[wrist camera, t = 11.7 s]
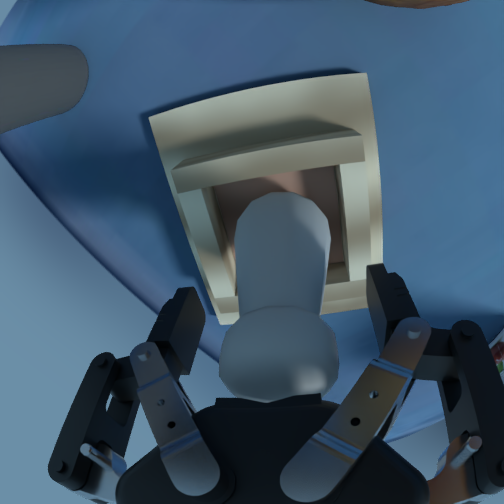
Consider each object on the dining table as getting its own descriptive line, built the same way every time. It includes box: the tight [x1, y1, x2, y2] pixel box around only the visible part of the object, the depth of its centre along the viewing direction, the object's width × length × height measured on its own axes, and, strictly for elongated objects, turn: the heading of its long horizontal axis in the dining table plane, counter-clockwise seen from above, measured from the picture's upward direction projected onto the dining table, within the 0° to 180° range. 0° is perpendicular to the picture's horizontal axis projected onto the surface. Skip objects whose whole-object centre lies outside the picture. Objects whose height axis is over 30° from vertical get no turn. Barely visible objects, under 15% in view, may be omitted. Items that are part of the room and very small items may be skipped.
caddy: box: [149, 73, 383, 325], centre depth 20 cm, size 18×14×4 cm
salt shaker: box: [219, 192, 339, 403], centre depth 15 cm, size 6×6×13 cm
